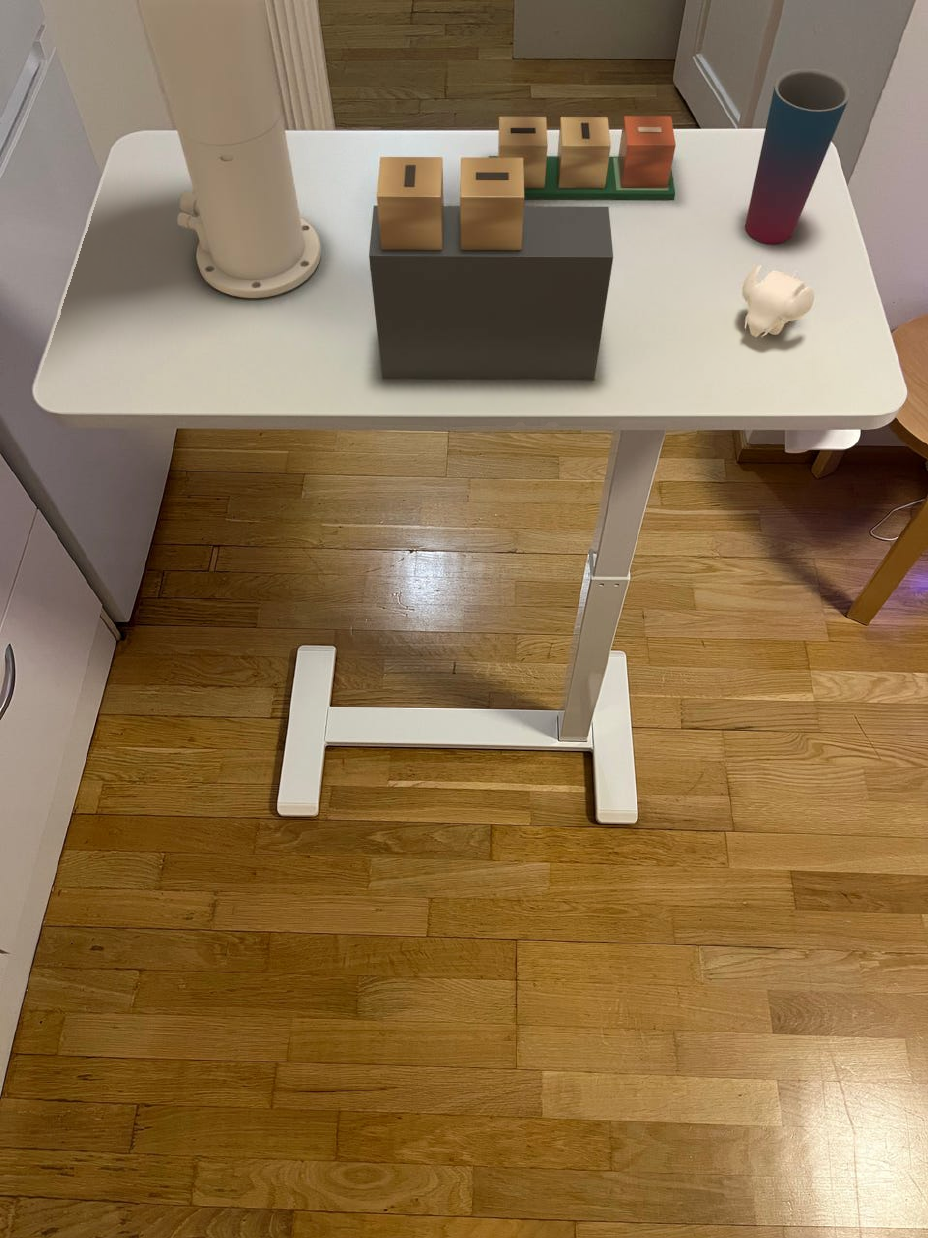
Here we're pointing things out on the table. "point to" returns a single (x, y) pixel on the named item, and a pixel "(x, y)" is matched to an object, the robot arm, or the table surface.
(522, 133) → the green tile rack
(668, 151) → the slotted orange cube
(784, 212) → the cup
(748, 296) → the elephant figurine
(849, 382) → the table surface
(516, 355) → the near dark gray stand
